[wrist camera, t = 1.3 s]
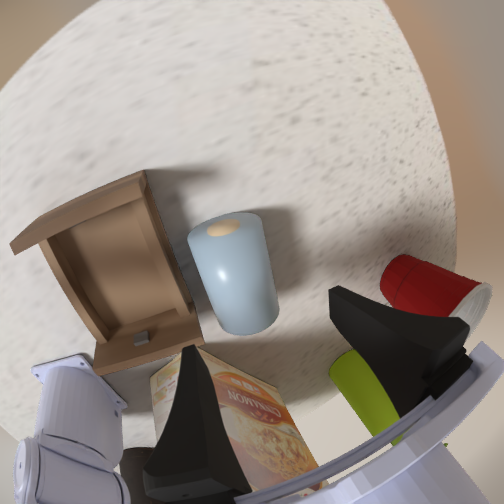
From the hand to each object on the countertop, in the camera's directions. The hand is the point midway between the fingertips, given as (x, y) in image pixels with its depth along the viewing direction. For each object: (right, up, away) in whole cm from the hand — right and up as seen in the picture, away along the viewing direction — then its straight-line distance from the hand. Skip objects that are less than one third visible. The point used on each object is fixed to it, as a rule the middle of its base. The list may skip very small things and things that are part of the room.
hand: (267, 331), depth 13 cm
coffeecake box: (-5, -11, +15) cm, 19 cm away
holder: (-11, +3, +6) cm, 13 cm away
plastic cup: (+17, +1, +17) cm, 24 cm away
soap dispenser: (+13, -11, +22) cm, 28 cm away
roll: (-2, +3, +9) cm, 10 cm away
